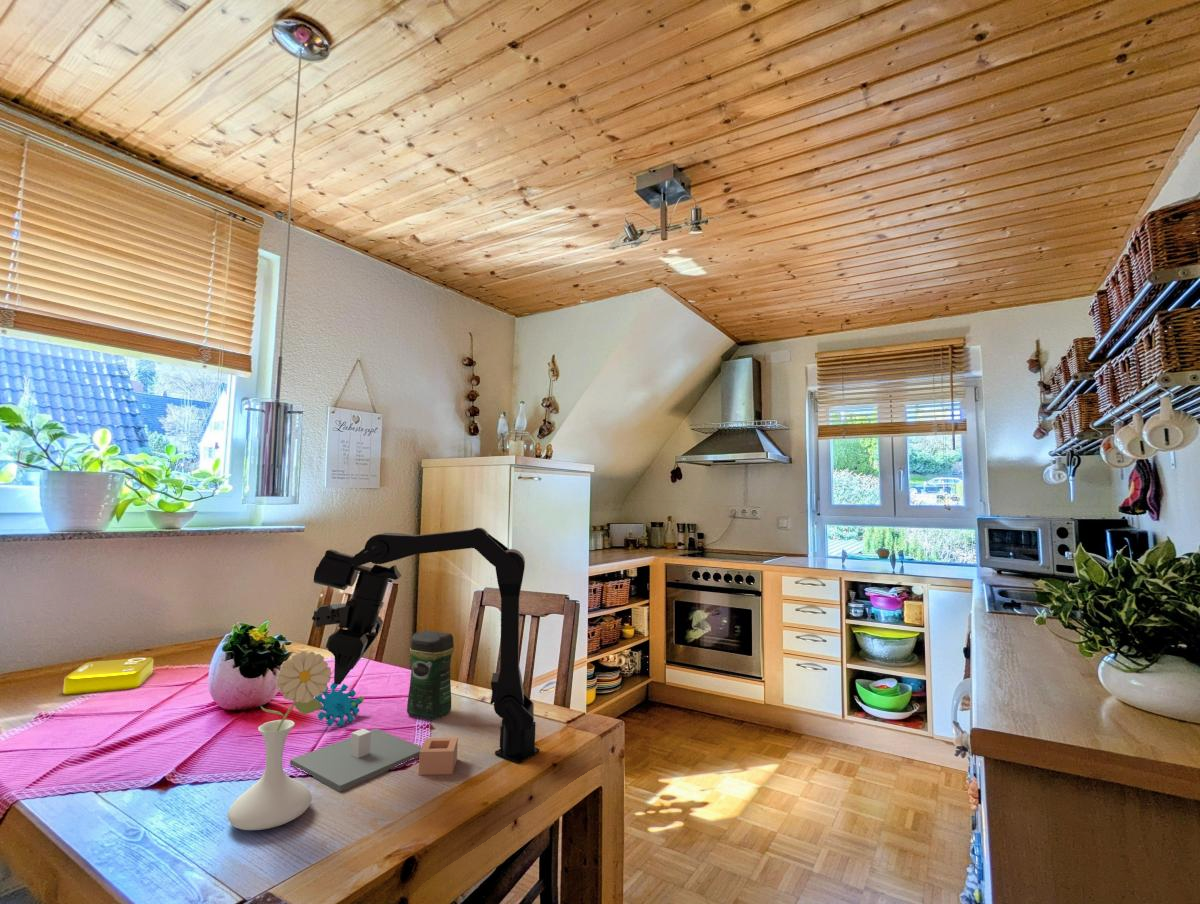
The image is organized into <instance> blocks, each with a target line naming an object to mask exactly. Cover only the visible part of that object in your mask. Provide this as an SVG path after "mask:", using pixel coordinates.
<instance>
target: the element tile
mask: <svg viewBox="0 0 1200 904" xmlns="http://www.w3.org/2000/svg"><path fill="white" fill-rule="evenodd" d="M154 661H155V660H154V658H153V657H135V658H125V659H124V658H123V659H112V660H111V659H110V660H98V661H89V662H86V663H84V664H82V665H81V666H79V667H77V668H76V669H75V670H73V671H72V672H71V673H69V674H67V675H66V676H65V677H63V688H62V694H63V695H78V694H81V695H82V694H88V693H90V694H91V693H101V692H103V693H104V692H112V691H122V690H130V689H131V690H132V689H135V688H136V689H137V688H139V687H140V686H141V685H142V684H143V683H144V682H145V681H146V680H147V679H148V678H149V677H150V676H151V675H152V674H153V669H154Z"/></svg>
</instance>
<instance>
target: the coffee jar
mask: <svg viewBox="0 0 1200 904" xmlns="http://www.w3.org/2000/svg"><path fill="white" fill-rule="evenodd" d="M410 640H411V641H410V646H409V652H410V653H409V654H410V657H411V670H410V680H409V681H410V682H409V690H408V697H407V702H406V703H407V707H406V713H407V715H409V716H411V717H413V718H418V719H423V720H435V719H439V718H444V717H445V716H447V715H448V714H449V713H450V712H451V711H452V688H451V687H452V686H451V685H452V684H451V681H452V680H451V662H452V656H453V653H454V650H455V647H454V646H455V645H454V636H453V634H452V633H448V632H440V631H436V630H435V631H434V630H422V631H418V632H415V633H413V635H412V637H411V639H410Z"/></svg>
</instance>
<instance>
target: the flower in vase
mask: <svg viewBox="0 0 1200 904" xmlns="http://www.w3.org/2000/svg"><path fill="white" fill-rule="evenodd" d="M328 665H329V664H328V662H327V661H326V660H325V656H323V655H321V653H315V652H314V651H309V652H307V651H305V650H301V651H300V652H299V653H296V654H293V655H292V657H291V658H287V660H284V661H283V662H282V664H281V665H280V670H279V672H278V673H277V678H276V683H275V686H276V688H278V690H279V691H278V692H279V694H283V695H282V698H283V700H288V701H292V702H293V703H292V705H291V706H290V707H289V709H288V710H287V711H286V713H285V715H284V714H283V713H282V712H280V711H277V710H272V709H267V708H264V707H263V706H262V705H260V708H261V710H262V711H263V712H266V713H269V714H270V713H271V714H275V715H279V716H283V718H281V719H277V720H272V721H267V722H264V723H262V724H261V725H260V726H258V727H257V728H258V729H257V730H258V732H259V733H260V734H261V736H262V737H263V740H264V745H265V753H266V754H265V756H266V758H265V766H264V767H265V768H264V771H263V774H262V775H261V777H260V778H259V779H258V780H257V782H255V783H254V784H253V785H251V786H250V787H249V788H248V789H247V790H245V791H244V792H243V793H241V794H240V796H238V798H237V799H236V800H235V801H234V802H233V803H232V805H231V806H230V808H229V810H228V813H227V815H226V817H227V820H228V822H229V823H230V825H232V826H233V827H234V828H236V829H240V830H243V831H260V830H268V829H272V828H275V827H276V828H277V827H279V826H282V825H284V824H287V823H289V822H291V821H293V820H296V819H297V818H298V817H300V816H301V815H303V814H304V813H305V812H306V811H307V809H308V808H309V806H310V805H311V803H312V801H313V800H312V799H313V797H312V794H311V791H310V790H309V788H308V787H306V786H305V785H304V784H303V783H301V782H299V781H298V780H296V779H294V778H292V777H290V776H288V775H287V774H286V773H285V772H284V769H283V756H284V750H285V744H286V741H287V738H288V736H289V733H290V732H291V731H292V728H293V727H294V726H295V723H296V722H294V721H293V720H290V719H287V717H288V715H289V714H290V713H291V711H292V710H293V708H294V707H295V709H296V710H297V711H298V712H299V713H300V714H302V715H308V714H311V713H314V712H316V711H319V710H318V709H320V708H321V707H323V706H324V705H323V704H322V703H321V702H320V701H318V700H316V699H314V698H315V697H317V696H319V695H320V694H323V693H322V692H325V691H326V690H327V687H328V684H329V682H330V681H331V677H330V676H332V671H331V670H332V668H331V667H330V666H328ZM327 691H328V690H327Z"/></svg>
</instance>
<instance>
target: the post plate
mask: <svg viewBox="0 0 1200 904" xmlns="http://www.w3.org/2000/svg"><path fill="white" fill-rule="evenodd" d="M350 735H351V736H350V737H348V738H346V739H343V740H340V741H338V742H334V743H331V744H329V745H326V746H324V747H321V748H318V749H315V750H313V751H310V752H307V753H304V754H302V755H298V756H296V757H292V758H290V760H289V765H290V764H291V765H293V766H296V767H297V768H300V769H301V770H304V771H305V772H307V773H308V774H310V775H312V776H313V777H314V779H315V778H316V779H315V780H317V779H318V780H317V781H319V780H320V781H322V782H323V784H324V783H325V784H324V785H326V784H327V785H326V786H329V787H330V788H331V789H333V788H334V790H336V792H339V793H341V792H343V791H345V790H347V789H349V788H352V787H354V786H357V785H359V784H361V783H364V782H366V781H368V780H369V779H372V778H374V777H377V776H379V775H381V774H384V773H386V772H389V771H390V770H389V769H391V768H393V769H395V768H396V767H395V766H397V765H399V764H401V763H404V762H406V761H408V760H410V759H412V758H416V757H418V756H419V754H420V750H421V748H422V746H420V745H418V744H415V743H414V742H410V741H408V740H406V739H403V738H400V737H398V736H395V735H393V734H391V733H388V732H386V731H383V730H381V729H378V728H373V729H370V730H367V729H365V728H361V729H358V730H355V731H352V732H351V734H350ZM418 758H419V757H418ZM416 759H417V758H416ZM404 764H405V763H404ZM291 765H290V766H291ZM293 766H292V767H293ZM394 767H395V768H394ZM397 767H398V766H397ZM391 770H392V769H391ZM313 777H312V778H313ZM320 781H319V782H320ZM322 782H321V783H322ZM356 784H357V785H356Z"/></svg>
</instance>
